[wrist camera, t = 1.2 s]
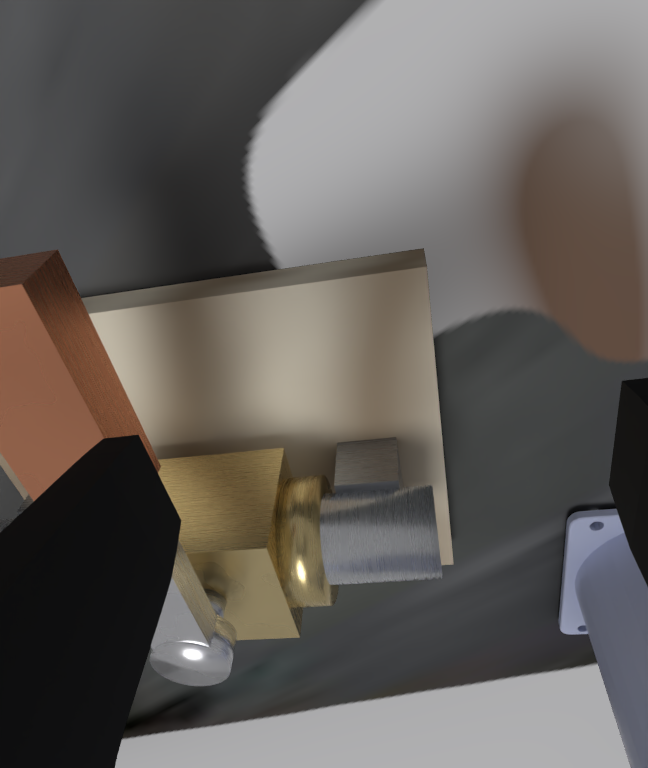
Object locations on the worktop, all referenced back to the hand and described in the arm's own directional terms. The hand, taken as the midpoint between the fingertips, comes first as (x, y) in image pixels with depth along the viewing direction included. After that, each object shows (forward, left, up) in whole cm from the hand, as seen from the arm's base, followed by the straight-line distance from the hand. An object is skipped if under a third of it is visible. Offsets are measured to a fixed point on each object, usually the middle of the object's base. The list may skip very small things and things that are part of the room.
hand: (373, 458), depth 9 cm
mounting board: (+7, +7, -9) cm, 14 cm away
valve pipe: (+7, +8, -8) cm, 13 cm away
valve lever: (+6, +3, -3) cm, 7 cm away
